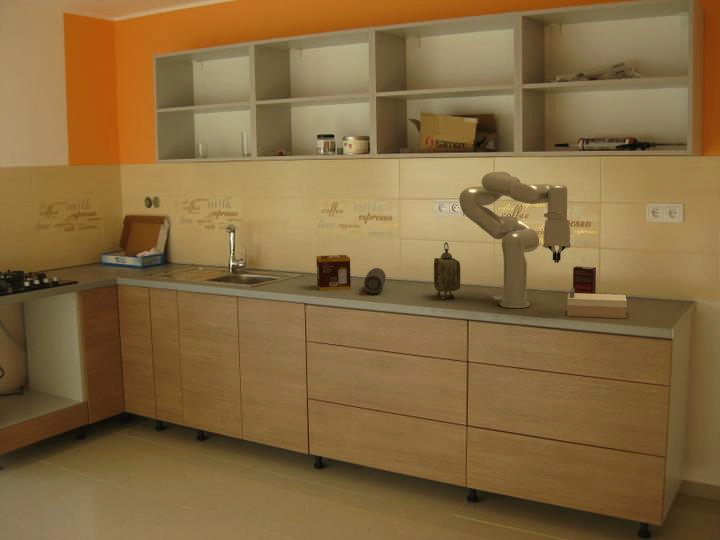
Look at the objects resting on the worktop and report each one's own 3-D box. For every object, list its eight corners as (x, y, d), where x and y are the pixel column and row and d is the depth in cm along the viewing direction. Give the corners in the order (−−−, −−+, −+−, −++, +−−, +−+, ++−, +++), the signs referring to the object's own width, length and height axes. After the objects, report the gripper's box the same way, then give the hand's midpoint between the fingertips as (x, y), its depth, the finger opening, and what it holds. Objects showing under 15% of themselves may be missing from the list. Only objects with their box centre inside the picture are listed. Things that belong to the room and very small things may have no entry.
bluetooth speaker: (383, 295, 364) (383, 274, 363) (363, 295, 365) (362, 274, 364) (386, 287, 386) (386, 266, 385) (367, 287, 387) (367, 266, 386)
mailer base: (567, 316, 314) (567, 300, 314) (568, 310, 325) (568, 295, 324) (625, 318, 308) (626, 302, 307) (624, 312, 319) (625, 297, 318)
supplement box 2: (595, 304, 337) (596, 267, 334) (592, 306, 333) (593, 268, 330) (575, 302, 341) (576, 265, 339) (571, 304, 338) (572, 267, 335)
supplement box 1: (316, 287, 390) (315, 255, 387) (347, 285, 392) (347, 254, 390) (319, 290, 379) (318, 258, 377) (351, 289, 382) (350, 257, 379)
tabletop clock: (433, 295, 363) (433, 240, 359) (453, 294, 364) (453, 240, 360) (440, 301, 349) (440, 244, 345) (460, 300, 350) (461, 244, 346)
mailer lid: (567, 305, 313) (567, 292, 312) (568, 299, 325) (568, 287, 324) (626, 307, 307) (626, 294, 306) (625, 301, 319) (625, 288, 318)
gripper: (537, 217, 314) (536, 263, 316) (576, 217, 310) (575, 264, 312) (538, 215, 321) (538, 260, 323) (576, 215, 317) (576, 261, 319)
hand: (556, 262), depth 318 cm, fingers closed
